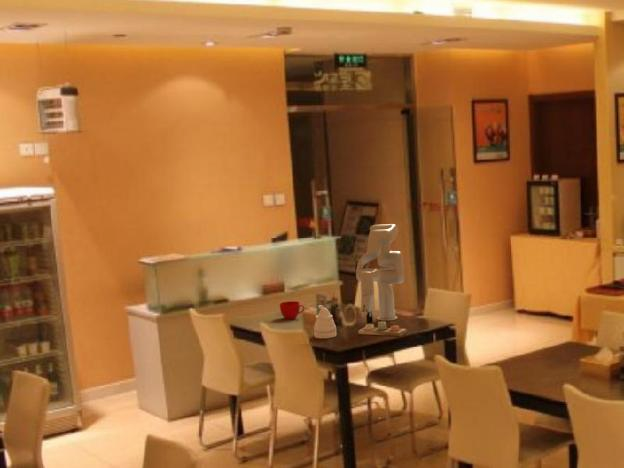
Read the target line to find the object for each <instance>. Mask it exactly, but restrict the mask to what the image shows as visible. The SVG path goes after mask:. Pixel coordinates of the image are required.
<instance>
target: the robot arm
mask: <svg viewBox="0 0 624 468" xmlns="http://www.w3.org/2000/svg"><path fill="white" fill-rule="evenodd" d="M398 234H399V228H398V226H397V225H396V224H394V223H389V224H387V223H386V224H384V223H383V224H382V223H381V224H373V225H371V226H369V234H368V239H367V246H366V247H367V248H366V252H365V253H364V254H363V255H362V256H361V257H360V258H359V260H358V262H357V264H356V265H357V266H356V271H355V272H356V273H355V278H356V280H357V281H358V282H360V292H361V293H360V295H361V296H360V297H361V299H360V300H361V301H360V303H361V304H360V309H361V311H360V312H362V313H363V314H364V315H365V319H366V324H372V323H373V321H374V320H373V315H374V313H373V312H374V311H375V309H376V300H375V284H374V283H375V282H376V283H377V289H378V290H377V292H378V293H377V294H378V309H379V313H378V314H379V316H377V317H376V318H377V320H378V321H381V322H389V321H395V320H397V319H398V316H397V315H396V313H397V310H395V309H396V308H395V294H394V292H395V291H394V289H393V287H392V286H391V285H401V284H403V283H404V281H405V268H404V267H405V266H404V264H405V262H404V256H403V253H402V252H401V251H399V250H392V246H391V244H392V243H393V242H394V240H396V238H397V237H398ZM376 259H377V264H378V266H379V267H388V268H374V267H373V268H368V267H367V268H364V267H365V265H366V264H367V263H369V262H371V261H373V260H376ZM389 267H394V268H389Z"/></svg>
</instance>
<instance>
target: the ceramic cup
mask: <svg viewBox="0 0 624 468" xmlns="http://www.w3.org/2000/svg"><path fill="white" fill-rule="evenodd" d="M300 303H301V302H300V301H296V300H295V301H284V302H280V303H279V309H280V312H281V313H280V314H281V315H282V316H283V318H284V319H285V320H294V319H296V318H297V316H299V314H301V313H303V312H304V311H305V306H304V305H303V304H301V305H300ZM301 307H302V310H301V311H300V308H301Z"/></svg>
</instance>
